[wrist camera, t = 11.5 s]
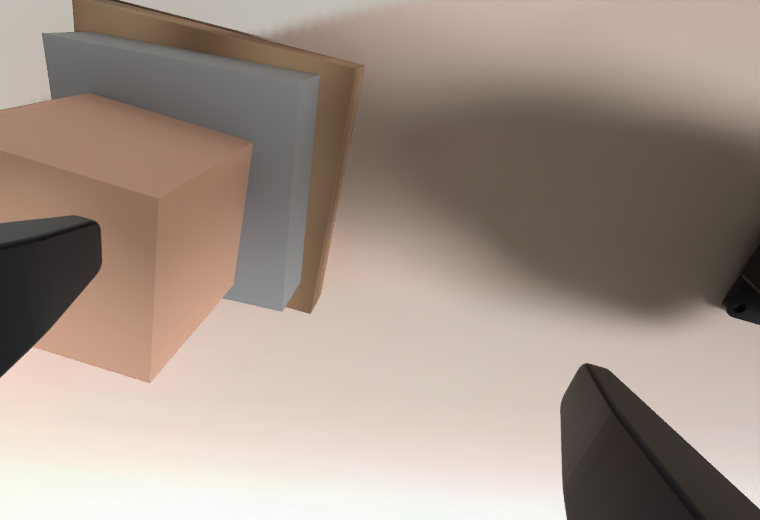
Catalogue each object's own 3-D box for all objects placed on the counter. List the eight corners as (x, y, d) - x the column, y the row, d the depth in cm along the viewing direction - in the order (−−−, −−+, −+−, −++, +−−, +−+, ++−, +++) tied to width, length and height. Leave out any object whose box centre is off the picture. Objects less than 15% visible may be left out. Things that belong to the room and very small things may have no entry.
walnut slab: (368, 64, 20) (355, 69, 18) (324, 287, 25) (310, 313, 23) (114, -1, 20) (72, -4, 18) (123, 231, 25) (90, 252, 23)
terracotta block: (253, 142, 17) (158, 198, 12) (233, 284, 20) (149, 383, 14) (89, 92, 17) (-80, 125, 12) (92, 241, 20) (-43, 323, 14)
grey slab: (319, 74, 18) (299, 82, 16) (300, 282, 22) (282, 311, 20) (92, 31, 19) (41, 33, 16) (114, 241, 23) (77, 265, 20)
